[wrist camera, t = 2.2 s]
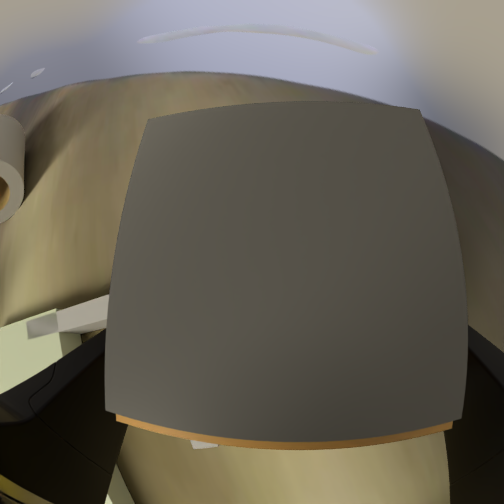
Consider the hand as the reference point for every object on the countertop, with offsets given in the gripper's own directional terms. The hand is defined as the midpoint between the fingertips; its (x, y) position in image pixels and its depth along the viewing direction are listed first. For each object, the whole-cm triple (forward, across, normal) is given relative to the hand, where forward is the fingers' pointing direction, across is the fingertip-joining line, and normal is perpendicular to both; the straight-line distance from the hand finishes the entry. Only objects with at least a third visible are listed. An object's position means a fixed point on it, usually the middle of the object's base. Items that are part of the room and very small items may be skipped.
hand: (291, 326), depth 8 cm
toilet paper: (+16, +34, -4) cm, 38 cm away
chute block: (+7, 0, +6) cm, 9 cm away
